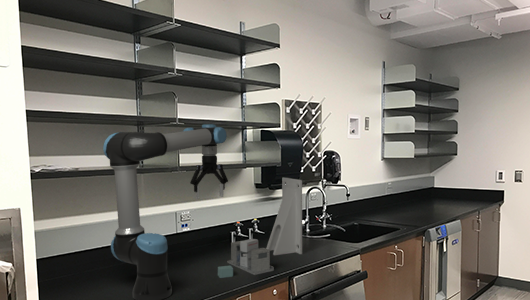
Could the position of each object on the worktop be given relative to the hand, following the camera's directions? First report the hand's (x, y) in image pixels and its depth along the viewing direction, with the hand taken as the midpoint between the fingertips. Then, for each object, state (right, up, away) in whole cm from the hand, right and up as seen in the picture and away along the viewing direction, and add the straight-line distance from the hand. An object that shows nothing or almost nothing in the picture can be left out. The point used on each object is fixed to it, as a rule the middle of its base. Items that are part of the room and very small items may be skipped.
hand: (209, 197), depth 209 cm
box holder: (+20, -33, -7) cm, 39 cm away
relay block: (+10, -33, -21) cm, 40 cm away
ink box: (+20, -32, -7) cm, 39 cm away
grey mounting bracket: (+37, -33, +21) cm, 54 cm away
